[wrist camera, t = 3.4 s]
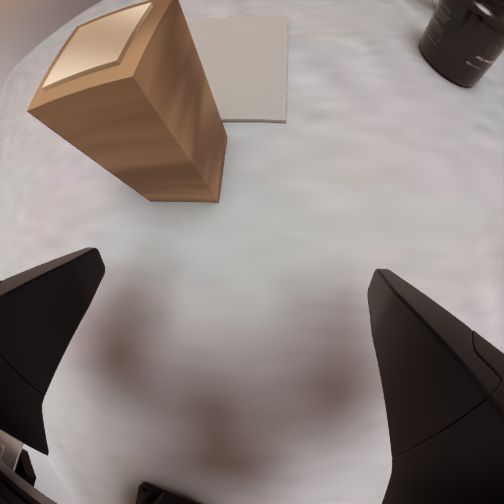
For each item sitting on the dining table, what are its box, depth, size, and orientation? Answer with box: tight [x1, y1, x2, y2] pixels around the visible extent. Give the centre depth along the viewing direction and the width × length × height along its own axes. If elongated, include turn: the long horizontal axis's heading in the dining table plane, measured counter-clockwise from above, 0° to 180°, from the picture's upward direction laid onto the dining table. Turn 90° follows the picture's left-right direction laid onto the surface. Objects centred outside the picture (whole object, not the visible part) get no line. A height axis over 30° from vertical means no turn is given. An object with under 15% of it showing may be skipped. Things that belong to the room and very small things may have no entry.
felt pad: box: [187, 15, 288, 123], centre depth 18 cm, size 13×12×1 cm
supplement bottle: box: [420, 0, 504, 87], centre depth 10 cm, size 7×7×12 cm
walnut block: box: [27, 0, 227, 203], centre depth 11 cm, size 4×4×11 cm
